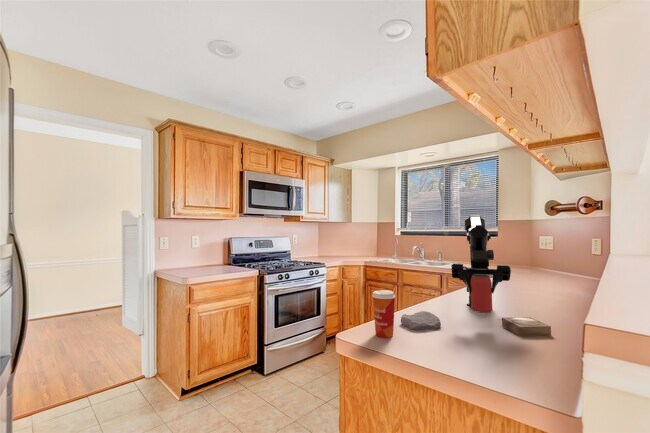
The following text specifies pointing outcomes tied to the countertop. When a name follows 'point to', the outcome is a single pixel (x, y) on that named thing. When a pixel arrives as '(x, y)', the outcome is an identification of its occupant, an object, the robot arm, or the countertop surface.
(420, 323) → the stone block
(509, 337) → the countertop surface
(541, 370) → the countertop surface
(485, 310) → the beer can
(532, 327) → the walnut pedestal
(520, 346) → the countertop surface
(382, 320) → the paper cup
